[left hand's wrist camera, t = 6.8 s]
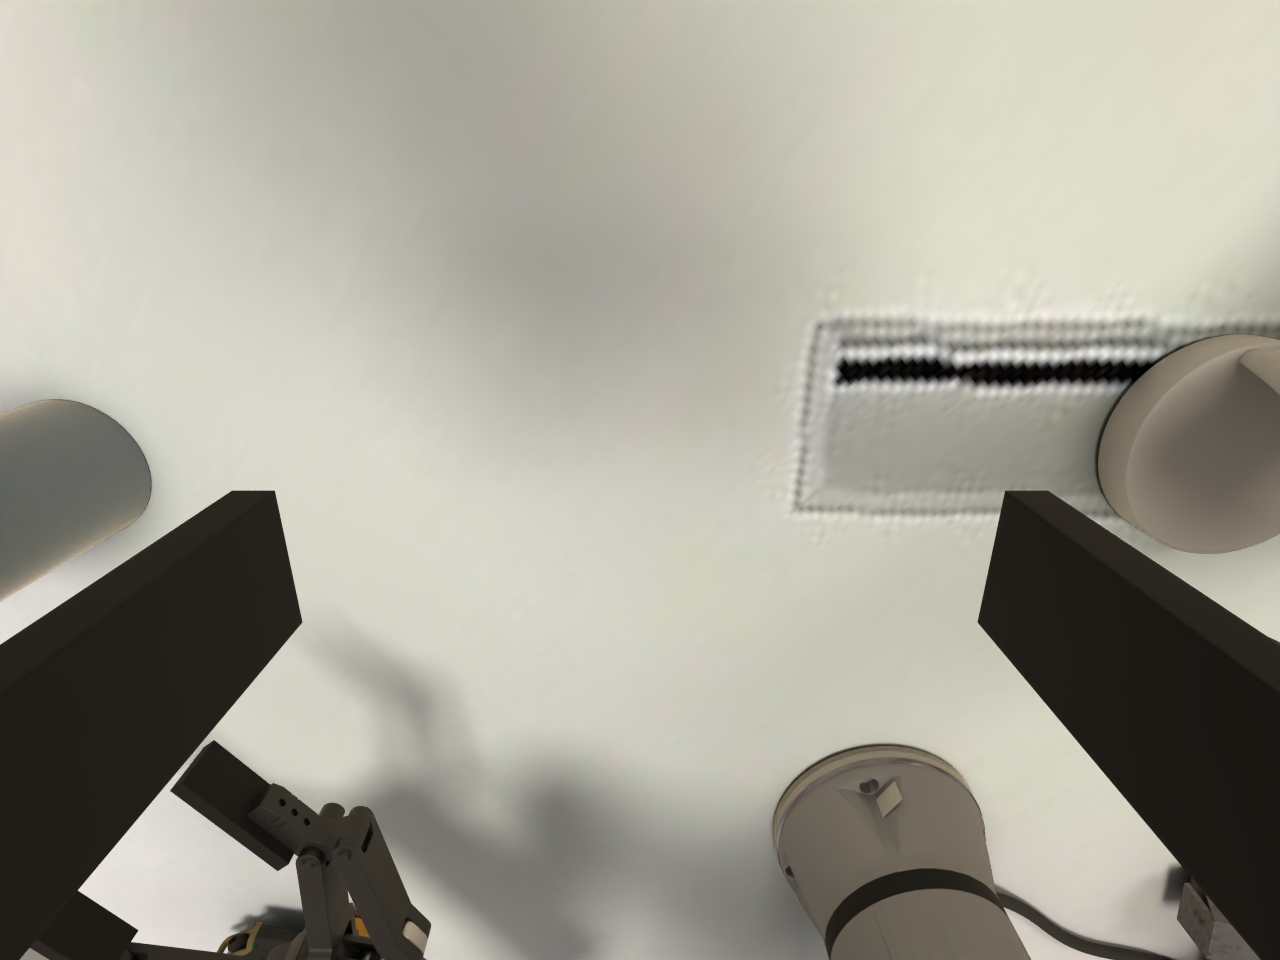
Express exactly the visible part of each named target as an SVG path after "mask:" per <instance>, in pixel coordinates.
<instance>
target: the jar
mask: <svg viewBox="0 0 1280 960" xmlns="http://www.w3.org/2000/svg"><path fill="white" fill-rule="evenodd" d="M150 491H151V478H150V473H149V469H148V465H147V462H146V460H145V458H144V456H143V453H142V452H141V450H140V448H139V447H138V445H137V444H136V442H135V441H134V440H133V438H132V437H131V436H130V435H129V434H128V433H127V432H126V431H125V430H124V429H123V428H122V427H121V426H120V425H119V424H118V423H117V422H115V421H114V420H112V419H111V418H110V417H108V416H107V415H105V414H103V413H102V412H100V411H98V410H96V409H94V408H92V407H89V406H87V405H84V404H81V403H77V402H73V401H68V400H44V401H38V402H35V403H32V404H28V405H25V406H22V407H19V408H15V409H12V410H9V411H5V412H2V413H0V602H2V601H3V600H5V599H7V598H8V597H10V596H12V595H13V594H15V593H17V592H18V591H20V590H22V589H23V588H25V587H27V586H28V585H30V584H32V583H33V582H35V581H37V580H38V579H40V578H42V577H43V576H45V575H47V574H48V573H50V572H52V571H53V570H55V569H57V568H58V567H60V566H62V565H63V564H65V563H67V562H68V561H70V560H72V559H73V558H75V557H77V556H79V555H80V554H82V553H84V552H85V551H87V550H89V549H90V548H92V547H94V546H95V545H97V544H99V543H100V542H102V541H104V540H105V539H107V538H109V537H110V536H112V535H114V534H115V533H117V532H119V531H120V530H122V529H124V528H125V527H127V526H129V525H130V524H132V523H133V522H134V521H135V520H136V519H138V518H139V517H140V515H141V514H142V513H143V511H144V510H145V508H146V506H147V504H148V500H149V497H150Z"/></svg>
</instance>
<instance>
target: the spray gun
mask: <svg viewBox="0 0 1280 960" xmlns="http://www.w3.org/2000/svg"><path fill="white" fill-rule="evenodd" d="M355 922H356V929H357V930H358V931H359V935H361V936H367V937H369V934H368V932H367V930H366V928H365V926H364V924H363V922H362V919H361V918H355ZM304 930H306V928H305V929H304ZM304 930H303V931H304ZM298 934H299V933H298V932H295V931H292V930H286V929H281V928H276V927H271V926H266V925H264V923H263V922H257V923H256V925H255V926H254V928H252V929H249V930H246V931H244V932H241V933H238V934H235V935H232V936H230V937H228V938H227V939H226V940H224V941H223V943H222V944H221V946H220V947H219V949H218V951H217V953H223V952H224V950H225V948H226V947H227V946H228V951H229V952H228V953H227V954H233V955H241V956H242V955H246V954H247V953H249V952H250V951H251V950H253V949H258V948H260V949H268V950H273V949H274V948H276V947H278V946H279V945H282V944H285V943H288V942H291V941H293V940H294V939H295V938H296V937H297V936H298ZM247 937H248V938H249V939H248V938H247Z"/></svg>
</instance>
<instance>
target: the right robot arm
mask: <svg viewBox="0 0 1280 960" xmlns="http://www.w3.org/2000/svg"><path fill="white" fill-rule="evenodd" d="M170 791H171V792H172V793H174V794H175V795H176V796H178V797H179V798H180V799H182V800H183V801H184V802H186V803H187V804H188V805H190V806H191V807H192V808H194V809H195V810H197V811H198V812H199V813H201V814H202V815H203V816H205V817H206V818H207V819H209V820H210V821H211V822H213V823H214V824H215V825H217V826H218V827H219V828H221V829H222V830H223V831H225V832H226V833H227V834H229V835H230V836H231V837H233V838H234V839H235V840H237V841H238V842H239V843H241V844H242V845H243V846H245V847H246V848H247V849H249V850H250V851H252V852H253V853H254V854H256V855H257V856H258V857H260V858H261V859H262V860H264V861H265V862H266V863H268V864H269V865H270V866H272V867H273V868H274V869H276V870H277V871H279V870H280V869H282V868H283V867H285V866H286V865H288V864H289V862H290V860H291V858H292V856H293V854H296V855H297V856H298V858H297V860H296V868H297V875H298V881H299V888H300V894H301V901H302V907H303V914H304V920H305V927H306V930H304V931H302V932H301V933H299V934H298V936H297V937H296V938H295V939H294V940H293V941H291V942H288V943H285V944H282V945H279V946H278V947H276V948H274V949H273V950H268V949H260V948H258V949H253V950H251V951H250V952H249V953H247V954H246V955H242V956H241V955H233V954H225V953H216V952H208V951H200V950H192V949H183V948H175V947H167V946H158V945H150V944H142V943H134V942H131V941H132V939H133V938H134V936H135V935H136V933H137V932H138V930H137V929H136V928H134V927H132V926H131V925H129V924H128V923H126V922H125V921H123V920H122V919H120V918H119V917H117V916H116V915H114V914H113V913H111V912H110V911H108V910H106V909H105V908H103V907H102V906H100V905H99V904H97V903H96V902H94V901H93V900H91V899H90V898H88V897H87V896H85V895H83V894H82V893H80V892H79V891H77V892H76V893H75V894H74V895H73V896H72V898H71V899H70V900H69V901H68V902H67V904H66V905H65V906H64V907H63V908H62V910H61V911H60V912H59V913H58V914H57V915H56V917H55V918H54V919H53V920H52V921H51V923H50V924H49V925H48V926H47V927H46V929H45V930H44V931H43V932H42V933H41V935H40V936H39V937H38V938H37V939H36V941H35V942H34V943H33V944H32V945H31V946H30V948H31V949H33V950H35V951H36V952H38V953H40V954H41V955H43V956H45V957H46V958H48V959H49V960H426V959H425V958H423V956H424V952H425V948H426V944H427V940H428V937H429V933H430V929H431V923H430V922H429V921H428V920H427V919H426V918H425V917H424V916H423V915H422V914H421V913H420V912H419V911H418V910H417V909H416V908H415V907H414V906H413V905H412V904H411V902H410V900H409V897H408V895H407V892H406V890H405V888H404V885H403V883H402V881H401V878H400V876H399V873H398V871H397V869H396V866H395V864H394V862H393V859H392V857H391V854H390V852H389V850H388V847H387V845H386V843H385V840H384V838H383V835H382V833H381V831H380V828H379V826H378V824H377V821H376V819H375V816H374V814H373V812H372V811H371V810H370V809H369V808H367V807H364V806H357V807H354V808H353V809H352V810H351V811H350V814H349V816H345V817H343V815H344V813H345V810H344V808H343V807H342V806H341V805H339V804H337V803H328V804H326V805H324V806H323V808H322V810H321V812H320V814H319V815H318V814H317V813H315V812H314V811H313V810H312V809H310V808H309V807H308V806H307V805H305V804H304V803H303V802H302V801H300V800H298V798H297V797H295V796H294V795H292V793H290V792H289V791H288V790H287V789H285V788H284V787H282V786H279V785H277V784H274V783H273V784H271V785H270V784H269V783H267V782H266V781H265V780H264V779H262V778H261V777H260V776H259V775H257V774H256V773H255V772H254V771H252V770H251V769H250V768H249V767H247V766H246V765H245V764H243V763H242V762H241V761H240V760H238V759H237V758H236V757H235V756H233V755H232V754H231V753H230V752H228V751H227V750H226V749H225V748H223V747H222V746H221V745H220V744H218V743H217V742H216V741H215V740H214V741H212V742H211V743H209V744H208V745H207V746H205V747H204V748H203V749H202V750H201V752H200V753H199V754H198V756H197V757H196V758H195V759H194V761H193V762H192V763H191V765H190V766H189V767H188V768H187V770H186V771H185V772H184V774H183V775H182V776H181V778H180V779H179V780H178V781H177V783H176V784H175V785H174V787H173V788H172V789H171V790H170ZM773 833H774V841H775V845H776V850H777V855H778V859H779V863H780V866H781V869H782V871H783V873H784V875H785V877H786V879H787V880H788V882H789V884H790V885H791V887H792V888H793V890H794V891H795V892H796V894H797V896H798V898H799V900H800V902H801V903H802V905H803V907H804V908H805V910H806V912H807V913H808V915H809V917H810V918H811V920H812V921H813V923H814V925H815V926H816V928H817V930H818V931H819V933H820V934H821V936H822V938H823V939H824V942H825V946H826V949H827V953H828V957H829V960H1031V958H1030V957H1029V955H1028V953H1027V951H1026V949H1025V947H1024V945H1023V943H1022V942H1021V940H1020V938H1019V936H1018V934H1017V932H1016V930H1015V928H1014V927H1013V925H1012V923H1011V921H1010V919H1009V917H1008V915H1007V914H1006V912H1005V910H1004V908H1007V909H1010V910H1012V911H1014V912H1016V913H1018V914H1020V915H1022V916H1024V917H1025V918H1027V919H1029V920H1030V921H1032V922H1033V923H1034V924H1036V925H1037V926H1039V927H1040V928H1041V929H1042V930H1044V931H1045V932H1046V933H1048V934H1049V935H1051V936H1052V937H1053V938H1055V939H1057V940H1058V941H1060V942H1061V943H1063V944H1065V945H1067V946H1069V947H1071V948H1073V949H1076V950H1078V951H1081V952H1084V953H1087V954H1090V955H1094V956H1098V957H1102V958H1107V959H1112V960H1164V959H1161V958H1157V957H1154V956H1151V955H1147V954H1143V953H1139V952H1135V951H1130V950H1125V949H1119V948H1114V947H1108V946H1103V945H1099V944H1095V943H1091V942H1088V941H1085V940H1082V939H1080V938H1077V937H1075V936H1073V935H1070V934H1068V933H1067V932H1065V931H1063V930H1061V929H1060V928H1058V927H1057V926H1055V925H1054V924H1053V923H1051V922H1050V921H1049V920H1047V919H1046V918H1045V917H1043V916H1042V915H1041V914H1039V913H1038V912H1037V911H1035V910H1034V909H1032V908H1031V907H1029V906H1028V905H1026V904H1024V903H1022V902H1020V901H1018V900H1016V899H1014V898H1012V897H1009V896H1007V895H1004V894H1001V893H998V892H996V891H995V886H994V881H993V875H992V870H991V865H990V860H989V855H988V851H987V846H986V838H985V827H984V822H983V818H982V814H981V811H980V808H979V806H978V804H977V802H976V800H975V798H974V797H973V795H972V793H971V791H970V790H969V788H968V786H967V785H966V783H965V781H964V780H963V779H962V777H961V776H960V775H959V774H958V773H957V772H956V770H954V769H953V768H952V767H951V766H950V765H948V764H947V763H945V762H944V761H943V760H941V759H939V758H937V757H935V756H933V755H931V754H928V753H926V752H923V751H919V750H916V749H911V748H906V747H898V746H873V747H865V748H860V749H855V750H851V751H847V752H844V753H841V754H838V755H835V756H833V757H831V758H828V759H826V760H824V761H822V762H821V763H819V764H817V765H815V766H814V767H812V768H811V769H809V770H808V771H807V772H805V773H804V774H803V775H802V776H801V777H799V778H798V779H797V780H796V781H795V782H794V783H793V784H792V786H791V787H790V788H789V789H788V790H787V792H786V793H785V795H784V796H783V798H782V800H781V801H780V804H779V806H778V808H777V811H776V814H775V818H774V826H773ZM347 889H348V890H347ZM348 892H349V894H350V896H351V898H352V900H353V902H354V904H355V907H356V909H357V911H358V913H359V915H360V917H361V919H362V922H363V924H364V926H365V928H366V930H367V932H368V934H369V937H367V936H361V935H359V931H358V930H357V929H356V922H355V914H354V905H353V903H349V898H348ZM1003 907H1004V908H1003Z"/></svg>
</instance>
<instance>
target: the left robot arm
mask: <svg viewBox="0 0 1280 960" xmlns="http://www.w3.org/2000/svg"><path fill="white" fill-rule="evenodd" d="M301 623H302V618H301V613H300V609H299V604H298V599H297V594H296V590H295V585H294V580H293V575H292V571H291V566H290V561H289V556H288V551H287V547H286V542H285V537H284V532H283V528H282V523H281V518H280V513H279V509H278V504H277V499H276V494H275V491H231V492H229V493H228V494H226V495H225V496H223V497H222V498H220V499H219V500H217V501H216V502H214V503H213V504H211V505H210V506H208V507H207V508H205V509H204V510H202V511H201V512H199V513H198V514H196V515H195V516H193V517H192V518H190V519H189V520H187V521H186V522H184V523H183V524H181V525H180V526H178V527H177V528H175V529H174V530H172V531H171V532H169V533H168V534H166V535H165V536H163V537H162V538H160V539H159V540H157V541H156V542H154V543H153V544H151V545H150V546H148V547H147V548H145V549H144V550H142V551H141V552H139V553H138V554H136V555H135V556H133V557H132V558H130V559H129V560H127V561H126V562H124V563H123V564H121V565H120V566H118V567H117V568H115V569H114V570H112V571H111V572H109V573H108V574H106V575H105V576H103V577H102V578H100V579H99V580H97V581H96V582H94V583H93V584H91V585H90V586H88V587H87V588H85V589H84V590H82V591H81V592H79V593H78V594H76V595H75V596H73V597H71V598H70V599H68V600H67V601H65V602H64V603H62V604H61V605H59V606H58V607H56V608H55V609H53V610H52V611H50V612H49V613H47V614H46V615H44V616H43V617H41V618H40V619H38V620H37V621H35V622H34V623H32V624H31V625H29V626H28V627H26V628H25V629H23V630H22V631H20V632H19V633H17V634H16V635H14V636H13V637H11V638H10V639H8V640H7V641H5V642H4V643H2V644H1V645H0V960H20V958H21V957H22V956H23V955H24V954H25V952H26V951H27V950H28V949H29V948H30V946H31V945H32V944H33V943H34V942H35V941H36V939H37V938H38V937H39V936H40V935H41V933H42V932H43V931H44V930H45V929H46V927H47V926H48V925H49V924H50V923H51V921H52V920H53V919H54V918H55V917H56V915H57V914H58V913H59V912H60V911H61V910H62V908H63V907H64V906H65V905H66V904H67V902H68V901H69V900H70V899H71V898H72V896H73V895H74V894H75V893H76V892H77V890H78V889H79V888H80V887H81V886H82V884H83V883H84V882H85V881H86V880H87V879H88V877H89V876H90V875H91V874H92V873H93V871H94V870H95V869H96V868H97V867H98V865H99V864H100V863H101V862H102V861H103V859H104V858H105V857H106V856H107V855H108V853H109V852H110V851H111V850H112V849H113V848H114V846H115V845H116V844H117V843H118V842H119V840H120V839H121V838H122V837H123V836H124V834H125V833H126V832H127V831H128V830H129V828H130V827H131V826H132V825H133V824H134V822H135V821H136V820H137V819H138V818H139V817H140V815H141V814H142V813H143V812H144V811H145V809H146V808H147V807H148V806H149V805H150V803H151V802H152V801H153V800H154V799H155V797H156V796H157V795H158V794H159V793H160V791H161V790H162V789H163V788H164V787H165V785H166V784H167V783H168V782H169V781H170V780H171V778H172V777H173V776H174V775H175V774H176V772H177V771H178V770H179V769H180V768H181V766H182V765H183V764H184V763H185V762H186V760H187V759H188V758H189V757H190V756H191V754H192V753H193V752H194V751H195V750H196V749H197V747H198V746H199V745H200V744H201V743H202V741H203V740H204V739H205V738H206V737H207V735H208V734H209V733H210V732H211V731H212V729H213V728H214V727H215V726H216V725H217V723H218V722H219V721H220V720H221V719H222V718H223V716H224V715H225V714H226V713H227V712H228V710H229V709H230V708H231V707H232V706H233V704H234V703H235V702H236V701H237V700H238V698H239V697H240V696H241V695H242V694H243V692H244V691H245V690H246V689H247V688H248V687H249V685H250V684H251V683H252V682H253V681H254V679H255V678H256V677H257V676H258V675H259V673H260V672H261V671H262V670H263V669H264V667H265V666H266V665H267V664H268V663H269V661H270V660H271V659H272V658H273V657H274V656H275V654H276V653H277V652H278V651H279V650H280V648H281V647H282V646H283V645H284V644H285V642H286V641H287V640H288V639H289V638H290V636H291V635H292V634H293V633H294V632H295V630H296V629H297V628H298V627H299V626H300V625H301ZM978 623H979V625H980V626H981V627H982V628H983V629H984V630H985V632H986V633H987V634H988V635H989V636H990V638H991V639H992V640H993V641H994V642H995V644H996V645H997V646H998V647H999V648H1000V650H1001V651H1002V652H1003V653H1004V654H1005V656H1006V657H1007V658H1008V659H1009V660H1010V661H1011V663H1012V664H1013V665H1014V666H1015V667H1016V669H1017V670H1018V671H1019V672H1020V673H1021V675H1022V676H1023V677H1024V678H1025V679H1026V681H1027V682H1028V683H1029V684H1030V685H1031V687H1032V688H1033V689H1034V690H1035V691H1036V692H1037V694H1038V695H1039V696H1040V697H1041V698H1042V700H1043V701H1044V702H1045V703H1046V704H1047V706H1048V707H1049V708H1050V709H1051V710H1052V712H1053V713H1054V714H1055V715H1056V716H1057V718H1058V719H1059V720H1060V721H1061V722H1062V723H1063V725H1064V726H1065V727H1066V728H1067V729H1068V731H1069V732H1070V733H1071V734H1072V735H1073V737H1074V738H1075V739H1076V740H1077V741H1078V743H1079V744H1080V745H1081V746H1082V747H1083V749H1084V750H1085V751H1086V752H1087V753H1088V754H1089V756H1090V757H1091V758H1092V759H1093V760H1094V762H1095V763H1096V764H1097V765H1098V766H1099V768H1100V769H1101V770H1102V771H1103V772H1104V774H1105V775H1106V776H1107V777H1108V778H1109V780H1110V781H1111V782H1112V783H1113V784H1114V785H1115V787H1116V788H1117V789H1118V790H1119V791H1120V793H1121V794H1122V795H1123V796H1124V797H1125V799H1126V800H1127V801H1128V802H1129V803H1130V805H1131V806H1132V807H1133V808H1134V809H1135V811H1136V812H1137V813H1138V814H1139V815H1140V817H1141V818H1142V819H1143V820H1144V821H1145V822H1146V824H1147V825H1148V826H1149V827H1150V828H1151V830H1152V831H1153V832H1154V833H1155V834H1156V836H1157V837H1158V838H1159V839H1160V840H1161V842H1162V843H1163V844H1164V845H1165V846H1166V848H1167V849H1168V850H1169V851H1170V852H1171V853H1172V855H1173V856H1174V857H1175V858H1176V859H1177V861H1178V862H1179V863H1180V864H1181V865H1182V867H1183V868H1184V869H1185V870H1186V871H1187V873H1188V874H1189V875H1190V876H1191V877H1192V879H1193V880H1194V881H1195V882H1196V883H1197V884H1198V886H1199V887H1200V888H1201V889H1202V890H1203V892H1204V893H1205V894H1206V895H1207V896H1208V898H1209V899H1210V900H1211V901H1212V902H1213V904H1214V905H1215V906H1216V907H1217V908H1218V910H1219V911H1220V912H1221V913H1222V914H1223V915H1224V917H1225V918H1226V919H1227V920H1228V921H1229V923H1230V924H1231V925H1232V926H1233V927H1234V929H1235V930H1236V931H1237V932H1238V933H1239V935H1240V936H1241V937H1242V938H1243V939H1244V941H1245V942H1246V943H1247V944H1248V945H1249V946H1250V948H1251V949H1252V950H1253V951H1254V952H1255V954H1256V955H1257V956H1258V957H1259V958H1260V960H1280V642H1278V641H1276V640H1274V639H1272V638H1269V637H1267V636H1266V635H1264V634H1263V633H1261V632H1260V631H1258V630H1257V629H1255V628H1254V627H1252V626H1251V625H1249V624H1248V623H1246V622H1245V621H1243V620H1242V619H1240V618H1239V617H1237V616H1236V615H1234V614H1233V613H1231V612H1230V611H1228V610H1227V609H1225V608H1224V607H1222V606H1221V605H1219V604H1218V603H1216V602H1215V601H1213V600H1212V599H1210V598H1209V597H1207V596H1205V595H1204V594H1202V593H1201V592H1199V591H1198V590H1196V589H1195V588H1193V587H1192V586H1190V585H1189V584H1187V583H1186V582H1184V581H1183V580H1181V579H1180V578H1178V577H1177V576H1175V575H1174V574H1172V573H1171V572H1169V571H1168V570H1166V569H1165V568H1163V567H1162V566H1160V565H1159V564H1157V563H1156V562H1154V561H1153V560H1151V559H1150V558H1148V557H1147V556H1145V555H1144V554H1142V553H1141V552H1139V551H1138V550H1136V549H1135V548H1133V547H1132V546H1130V545H1129V544H1127V543H1126V542H1124V541H1123V540H1121V539H1120V538H1118V537H1117V536H1115V535H1114V534H1112V533H1111V532H1109V531H1108V530H1106V529H1105V528H1103V527H1102V526H1100V525H1099V524H1097V523H1096V522H1094V521H1093V520H1091V519H1090V518H1088V517H1087V516H1085V515H1084V514H1082V513H1081V512H1079V511H1078V510H1076V509H1075V508H1073V507H1072V506H1070V505H1069V504H1067V503H1066V502H1064V501H1063V500H1061V499H1060V498H1058V497H1057V496H1055V495H1054V494H1052V493H1051V492H1049V491H1005V494H1004V499H1003V504H1002V509H1001V513H1000V518H999V523H998V528H997V532H996V537H995V542H994V547H993V551H992V556H991V561H990V566H989V570H988V575H987V580H986V585H985V590H984V594H983V599H982V604H981V609H980V613H979V618H978Z"/></svg>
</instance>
